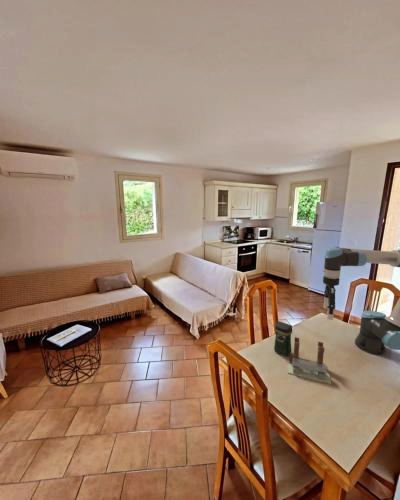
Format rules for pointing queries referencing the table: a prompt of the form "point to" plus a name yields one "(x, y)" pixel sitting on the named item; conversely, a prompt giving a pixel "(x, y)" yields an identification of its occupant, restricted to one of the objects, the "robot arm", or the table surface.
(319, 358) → the rack
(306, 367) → the rail
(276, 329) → the coffee jar
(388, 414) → the table surface
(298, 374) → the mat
